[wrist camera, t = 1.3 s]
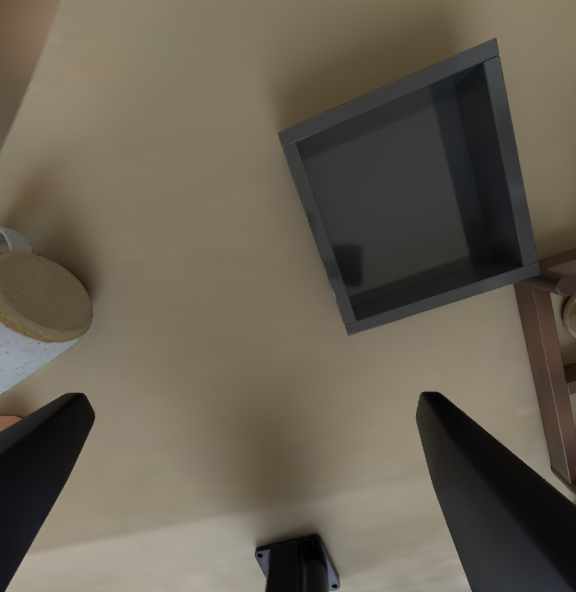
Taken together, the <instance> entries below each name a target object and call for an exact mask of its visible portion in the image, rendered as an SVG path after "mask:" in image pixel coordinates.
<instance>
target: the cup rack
mask: <svg viewBox="0 0 576 592" xmlns="http://www.w3.org/2000/svg"><path fill="white" fill-rule="evenodd" d="M538 264H539V270H540V275H537V276H534V277H531V278H528V279H525V280H522V281H518V282H515V283H514V287H515V292H516V296H517V301H518V306H519V311H520V316H521V320H522V325H523V330H524V335H525V340H526V344H527V349H528V354H529V359H530V363H531V368H532V373H533V378H534V383H535V387H536V392H537V397H538V402H539V406H540V411H541V416H542V421H543V426H544V430H545V435H546V440H547V445H548V450H549V454H550V459H551V464H552V467H551V470H552V472H553V473H554V474H555V475H556V476H557V477H558V479H559V480H560V481H561V482H562V483H563V484H564V485H565V486H566V487H567V488H568V489H569V490H570V491H571V492H573V493H574V494H575V495H576V434H575V428H574V423H573V417H572V412H571V406H570V401H569V395H571V394H575V393H576V363H574V364H570V365H567V366H563V363H562V357H561V352H560V346H559V341H558V335H557V330H556V324H555V319H554V313H553V308H552V303H551V297H550V292H551V293H555V294H558V295H561V296H569V295H572V294H573V293H575V292H576V277H574V276H572V275H575V274H576V249H574V250H571V251H568V252H565V253H561V254H558V255H555V256H552V257H549V258H546V259H543V260H540V261H538Z"/></svg>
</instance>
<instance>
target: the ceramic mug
mask: <svg viewBox="0 0 576 592" xmlns="http://www.w3.org/2000/svg"><path fill="white" fill-rule="evenodd" d="M1 240H6V241H7V243H8V248H9V250H10V252H4V253H0V394H1V393H3V392H5V391H7V390H9V389H10V388H12V387H13V386H15V385H16V384H18V383H19V382H20V381H22V380H23V379H25V378H26V377H28V376H29V375H31V374H32V373H34V372H35V371H37V370H38V369H39V368H41V367H42V366H44V365H45V364H46V363H48V362H49V361H51V360H52V359H54V358H55V357H57V356H58V355H60V354H61V353H63V352H64V351H66V350H67V349H69V348H70V347H71V346H73V345H74V344H75V343H76V342H77V341H78V340H79V339H80V338H81V337H82V336H83V335H84V334H85V332H86V331H87V330H88V329H89V327H90V325H91V322H92V318H93V309H92V303H91V299H90V297H89V295H88V293H87V291H86V289H85V288H84V286H83V285H82V283H81V282H80V281H79V280H78V279H77V278H76V277H75V276H74V275H73V274H72V273H71V272H70V271H68V270H67V269H66V268H64V267H63V266H61V265H60V264H58V263H56V262H54V261H52V260H50V259H48V258H45V257H42V256H39V255H35V254H34V251H33V248H32V245H31V244H30V243H29V241H28V239H27V238H26V237H25V236H24V235H23V234H21V233H20V232H18V231H15V230H12V229H9V228H5V227H2V226H0V241H1Z"/></svg>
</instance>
